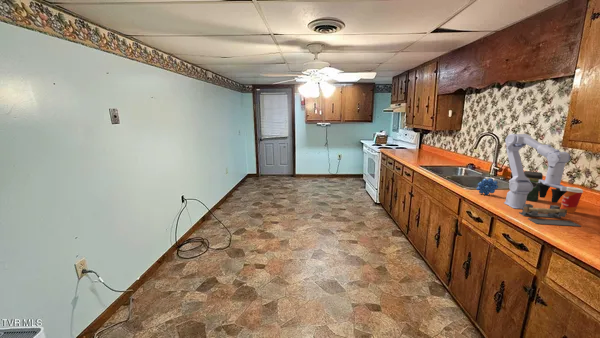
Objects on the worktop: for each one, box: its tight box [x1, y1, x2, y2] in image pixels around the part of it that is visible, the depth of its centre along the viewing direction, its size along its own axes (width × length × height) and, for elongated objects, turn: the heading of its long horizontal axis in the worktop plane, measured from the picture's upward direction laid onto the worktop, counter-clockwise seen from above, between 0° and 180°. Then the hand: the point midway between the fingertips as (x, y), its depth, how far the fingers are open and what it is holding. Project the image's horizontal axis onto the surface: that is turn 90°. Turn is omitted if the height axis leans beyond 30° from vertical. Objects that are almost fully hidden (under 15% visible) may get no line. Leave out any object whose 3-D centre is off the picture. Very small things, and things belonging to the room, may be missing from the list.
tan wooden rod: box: [524, 207, 568, 216], centre depth 132 cm, size 19×3×3 cm, turn 82°
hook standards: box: [518, 203, 567, 219], centre depth 133 cm, size 7×18×6 cm, turn 82°
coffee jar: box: [524, 170, 544, 202], centre depth 160 cm, size 10×8×19 cm
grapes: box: [475, 177, 499, 196], centre depth 169 cm, size 12×7×12 cm, turn 56°
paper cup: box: [560, 186, 584, 214], centre depth 140 cm, size 8×8×14 cm
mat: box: [527, 218, 582, 228], centre depth 127 cm, size 6×20×1 cm, turn 82°
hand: (548, 199), depth 130 cm, fingers open, 7 cm apart
